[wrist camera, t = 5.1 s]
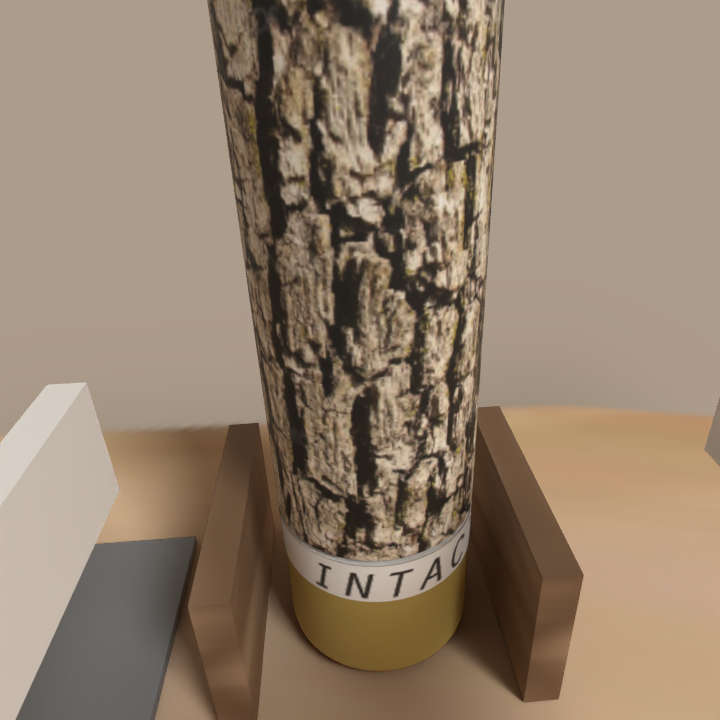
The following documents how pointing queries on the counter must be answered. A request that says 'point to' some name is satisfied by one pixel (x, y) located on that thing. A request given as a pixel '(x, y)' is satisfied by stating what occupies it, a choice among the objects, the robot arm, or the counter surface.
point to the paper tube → (367, 295)
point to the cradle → (489, 533)
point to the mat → (114, 634)
